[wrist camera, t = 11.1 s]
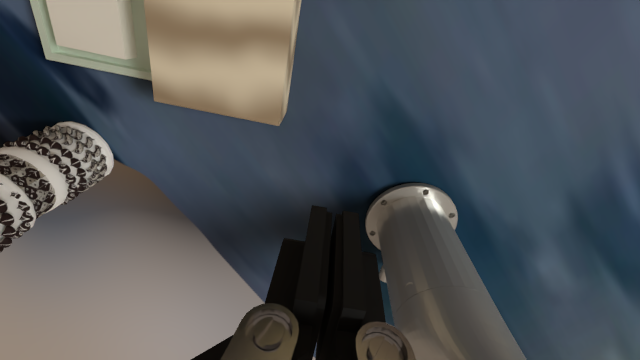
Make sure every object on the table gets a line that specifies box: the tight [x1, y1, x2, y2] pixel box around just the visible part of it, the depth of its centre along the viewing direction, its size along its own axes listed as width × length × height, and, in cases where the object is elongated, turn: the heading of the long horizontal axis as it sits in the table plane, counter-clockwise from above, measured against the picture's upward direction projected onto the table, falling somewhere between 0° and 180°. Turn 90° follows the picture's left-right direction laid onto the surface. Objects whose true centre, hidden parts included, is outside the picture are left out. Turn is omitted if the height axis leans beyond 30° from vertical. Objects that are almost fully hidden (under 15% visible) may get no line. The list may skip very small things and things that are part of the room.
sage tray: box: [30, 0, 152, 81], centre depth 29 cm, size 12×13×2 cm
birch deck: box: [144, 0, 301, 126], centre depth 28 cm, size 14×13×5 cm
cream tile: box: [46, 0, 137, 60], centre depth 29 cm, size 8×7×2 cm
